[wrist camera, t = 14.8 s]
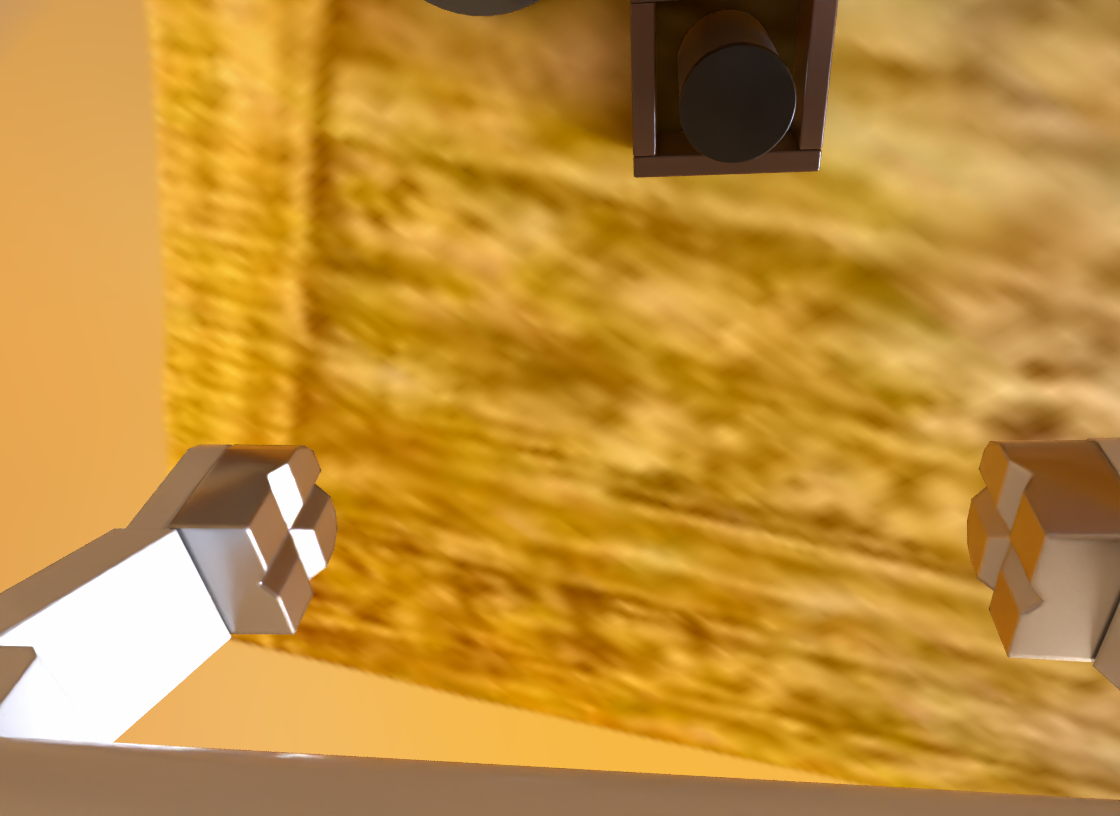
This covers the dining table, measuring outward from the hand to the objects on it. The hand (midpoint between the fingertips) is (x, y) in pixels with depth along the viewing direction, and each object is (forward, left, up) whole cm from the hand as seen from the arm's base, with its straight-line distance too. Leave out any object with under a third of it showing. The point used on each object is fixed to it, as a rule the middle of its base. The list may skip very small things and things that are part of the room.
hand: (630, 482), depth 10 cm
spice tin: (-2, +2, -25) cm, 25 cm away
